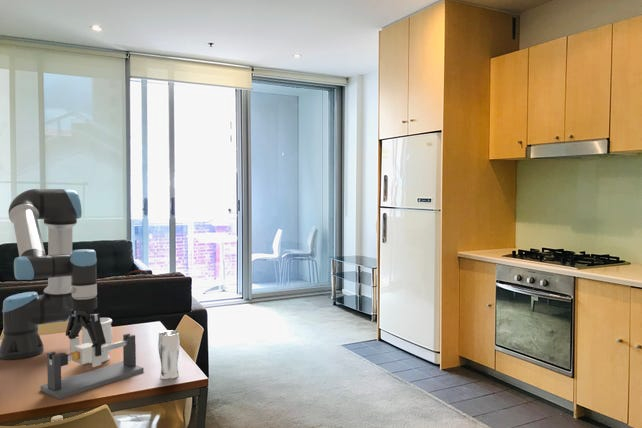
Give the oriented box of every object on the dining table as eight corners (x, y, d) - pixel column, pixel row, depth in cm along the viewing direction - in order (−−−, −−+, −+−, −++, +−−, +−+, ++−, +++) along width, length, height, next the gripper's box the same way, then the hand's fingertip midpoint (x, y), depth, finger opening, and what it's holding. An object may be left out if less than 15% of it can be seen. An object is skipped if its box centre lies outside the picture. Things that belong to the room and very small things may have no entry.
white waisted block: (167, 371, 173) (167, 329, 172) (184, 374, 170) (183, 331, 170) (154, 378, 166) (153, 334, 166) (171, 381, 164) (170, 336, 163)
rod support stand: (40, 390, 156) (39, 351, 156) (123, 365, 179) (123, 331, 179) (59, 399, 149) (58, 358, 149) (143, 371, 172) (143, 336, 172)
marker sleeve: (73, 361, 161) (73, 346, 161) (88, 357, 165) (88, 342, 165) (82, 364, 158) (81, 348, 158) (96, 360, 162) (96, 345, 162)
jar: (101, 366, 179) (100, 324, 178) (75, 364, 181) (75, 323, 180) (118, 356, 189) (118, 317, 189) (94, 355, 191) (94, 316, 191)
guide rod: (48, 366, 154) (48, 356, 153) (129, 344, 176) (129, 335, 176) (53, 368, 152) (53, 358, 152) (134, 346, 174) (134, 337, 174)
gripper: (53, 294, 165) (54, 357, 166) (94, 303, 151) (95, 372, 151) (75, 291, 171) (76, 351, 172) (116, 299, 157) (117, 365, 157)
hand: (85, 361), depth 162 cm, fingers open, 13 cm apart
